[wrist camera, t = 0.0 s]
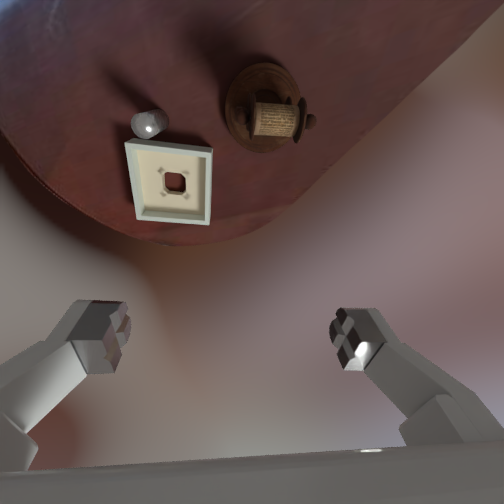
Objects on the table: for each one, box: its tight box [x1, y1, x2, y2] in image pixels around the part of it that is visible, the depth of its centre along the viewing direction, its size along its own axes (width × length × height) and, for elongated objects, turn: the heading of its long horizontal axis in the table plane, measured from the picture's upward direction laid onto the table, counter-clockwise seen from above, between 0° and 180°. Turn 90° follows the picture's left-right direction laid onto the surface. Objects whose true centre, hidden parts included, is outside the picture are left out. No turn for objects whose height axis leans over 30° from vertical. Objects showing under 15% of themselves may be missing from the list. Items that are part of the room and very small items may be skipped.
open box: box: [125, 138, 213, 225], centre depth 51 cm, size 16×16×5 cm
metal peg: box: [131, 109, 169, 139], centre depth 42 cm, size 4×4×11 cm
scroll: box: [225, 63, 316, 153], centre depth 38 cm, size 15×15×20 cm
